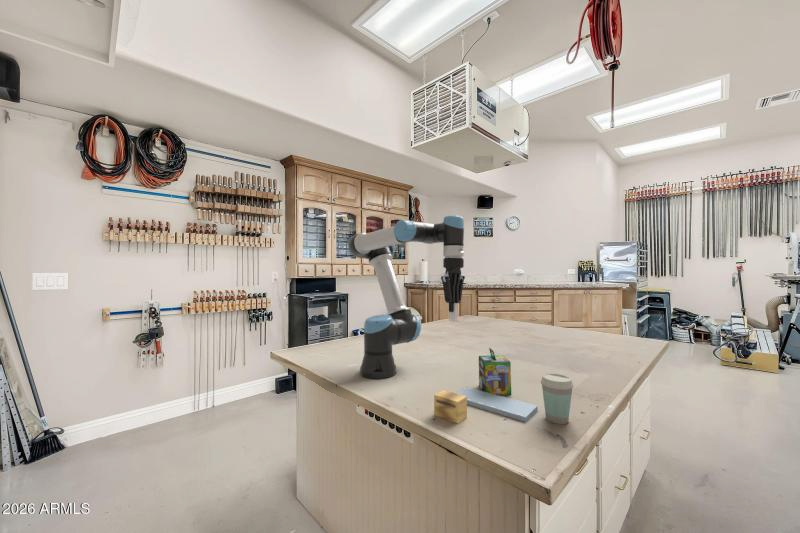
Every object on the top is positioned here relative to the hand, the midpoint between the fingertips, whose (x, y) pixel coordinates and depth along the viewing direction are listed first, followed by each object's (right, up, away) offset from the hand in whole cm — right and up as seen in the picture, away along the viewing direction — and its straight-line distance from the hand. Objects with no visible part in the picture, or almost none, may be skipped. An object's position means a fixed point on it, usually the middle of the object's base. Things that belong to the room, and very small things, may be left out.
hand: (453, 320), depth 120 cm
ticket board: (+10, -24, -19) cm, 32 cm away
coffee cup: (+25, -24, -28) cm, 45 cm away
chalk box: (+14, -24, -6) cm, 28 cm away
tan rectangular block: (-5, -24, -27) cm, 36 cm away
